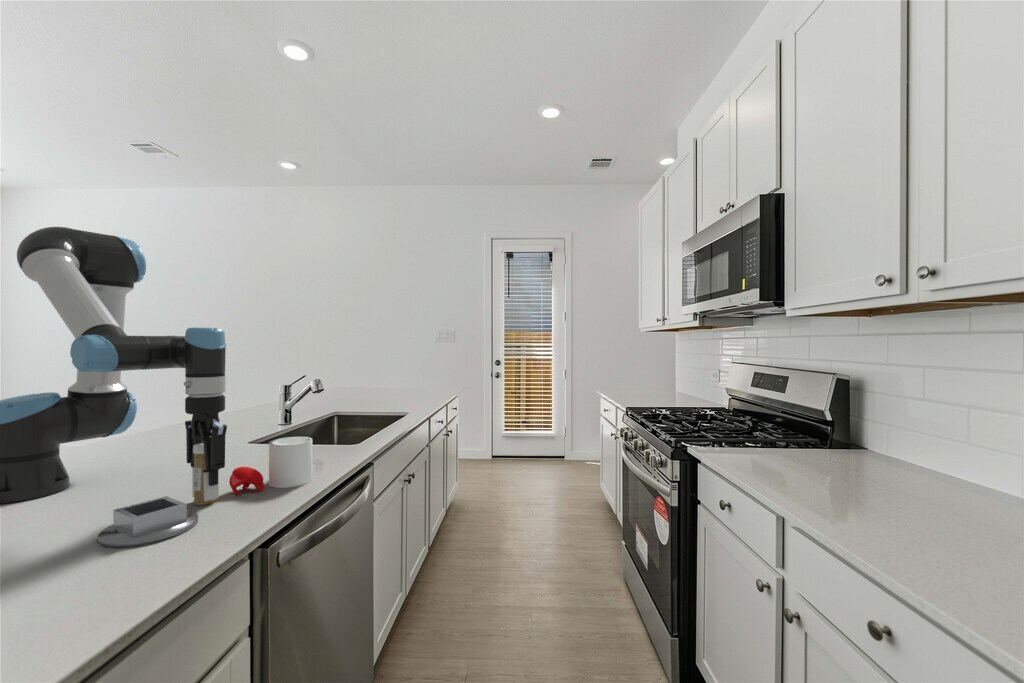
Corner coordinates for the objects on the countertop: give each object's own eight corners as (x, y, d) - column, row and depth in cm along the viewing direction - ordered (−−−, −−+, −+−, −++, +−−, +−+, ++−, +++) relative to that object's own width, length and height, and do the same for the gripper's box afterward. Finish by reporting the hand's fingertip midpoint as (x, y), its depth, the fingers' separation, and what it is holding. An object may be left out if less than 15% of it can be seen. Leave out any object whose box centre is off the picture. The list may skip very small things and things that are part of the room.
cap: (220, 484, 104) (243, 470, 104) (228, 468, 109) (250, 456, 110) (244, 505, 107) (266, 492, 108) (251, 489, 113) (272, 477, 113)
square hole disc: (84, 535, 84) (84, 512, 84) (176, 509, 97) (176, 489, 97) (118, 555, 76) (118, 529, 76) (212, 524, 89) (212, 502, 89)
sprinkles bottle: (217, 503, 100) (217, 444, 100) (192, 507, 98) (192, 446, 98) (217, 497, 104) (217, 440, 104) (193, 501, 102) (193, 442, 102)
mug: (267, 476, 120) (267, 437, 120) (307, 470, 126) (308, 433, 126) (269, 490, 109) (270, 447, 109) (314, 483, 114) (315, 442, 114)
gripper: (168, 394, 102) (167, 495, 102) (207, 399, 93) (207, 510, 93) (204, 391, 109) (203, 486, 109) (243, 395, 100) (243, 499, 100)
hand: (205, 496), depth 101 cm, fingers closed on sprinkles bottle, 4 cm apart
